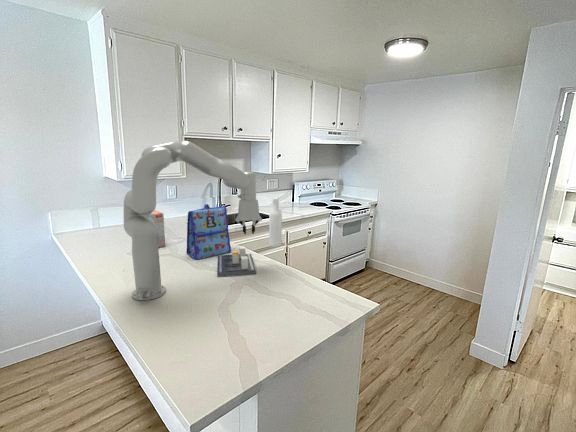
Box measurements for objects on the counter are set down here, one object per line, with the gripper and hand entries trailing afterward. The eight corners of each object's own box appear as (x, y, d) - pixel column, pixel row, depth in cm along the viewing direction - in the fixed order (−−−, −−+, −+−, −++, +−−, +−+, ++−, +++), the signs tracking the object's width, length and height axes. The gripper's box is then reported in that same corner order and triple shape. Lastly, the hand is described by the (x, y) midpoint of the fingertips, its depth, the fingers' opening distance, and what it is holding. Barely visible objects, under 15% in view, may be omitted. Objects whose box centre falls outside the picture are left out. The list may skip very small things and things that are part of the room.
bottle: (267, 244, 192) (267, 197, 185) (279, 242, 195) (279, 196, 188) (271, 247, 184) (271, 199, 178) (283, 246, 187) (284, 198, 181)
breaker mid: (238, 263, 152) (238, 252, 151) (232, 263, 152) (232, 253, 151) (238, 260, 156) (238, 250, 155) (232, 260, 156) (232, 250, 154)
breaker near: (248, 268, 146) (247, 258, 145) (241, 269, 145) (241, 259, 144) (247, 265, 149) (247, 256, 148) (241, 266, 149) (241, 256, 148)
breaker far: (245, 257, 161) (245, 248, 160) (239, 257, 160) (239, 248, 159) (245, 254, 165) (244, 246, 164) (239, 255, 164) (239, 246, 163)
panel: (255, 274, 145) (255, 269, 144) (217, 276, 141) (217, 272, 141) (251, 257, 168) (251, 253, 167) (217, 259, 164) (217, 255, 164)
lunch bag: (195, 260, 162) (192, 207, 156) (186, 254, 172) (182, 204, 166) (231, 252, 175) (230, 203, 169) (220, 246, 185) (219, 200, 179)
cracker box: (166, 246, 185) (163, 213, 180) (156, 248, 181) (153, 214, 176) (158, 241, 195) (156, 209, 191) (148, 243, 191) (145, 210, 187)
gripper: (231, 198, 143) (232, 236, 147) (266, 198, 147) (266, 234, 150) (231, 196, 150) (232, 232, 154) (264, 195, 154) (264, 230, 158)
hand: (248, 232), depth 152 cm, fingers open, 3 cm apart
